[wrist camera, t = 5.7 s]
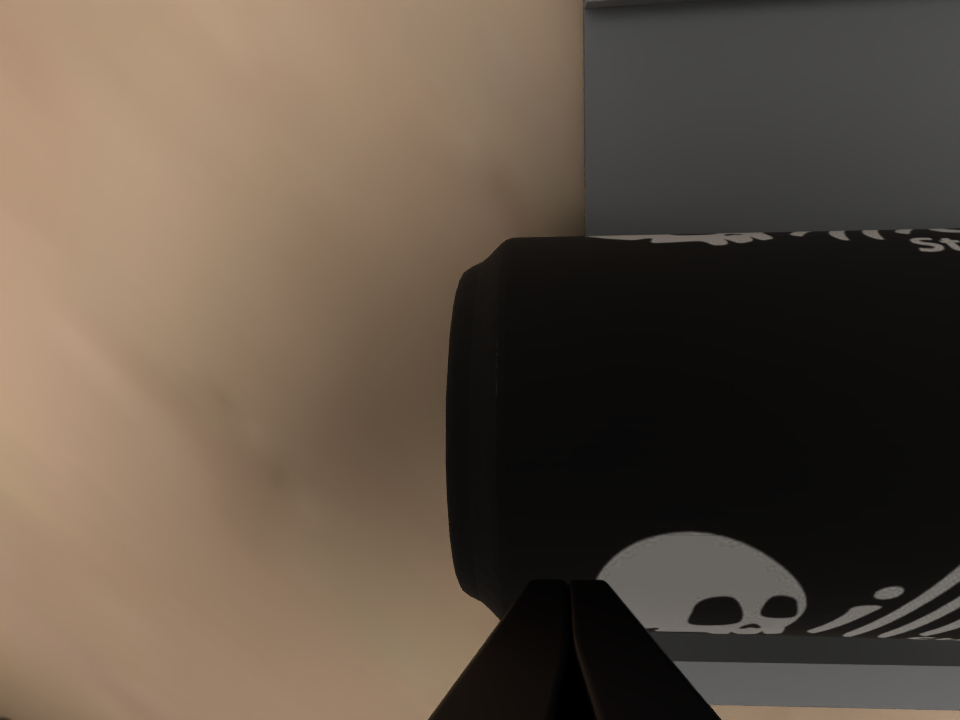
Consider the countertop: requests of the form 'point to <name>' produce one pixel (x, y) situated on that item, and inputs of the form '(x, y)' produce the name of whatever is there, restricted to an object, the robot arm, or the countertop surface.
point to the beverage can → (714, 428)
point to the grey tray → (779, 218)
